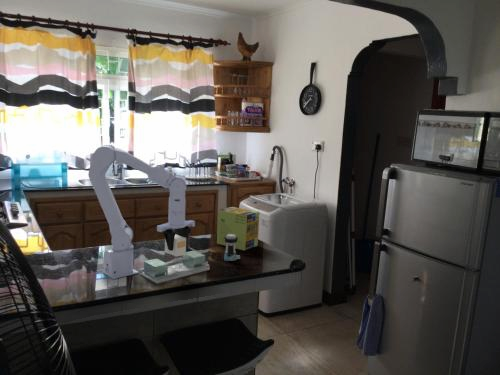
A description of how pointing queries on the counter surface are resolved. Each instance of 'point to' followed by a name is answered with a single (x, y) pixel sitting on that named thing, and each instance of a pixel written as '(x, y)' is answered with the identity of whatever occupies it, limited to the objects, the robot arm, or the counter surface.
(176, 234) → the supplement bottle
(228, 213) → the protein box
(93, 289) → the counter surface
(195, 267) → the din panel
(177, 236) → the block
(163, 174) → the robot arm
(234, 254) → the push button
